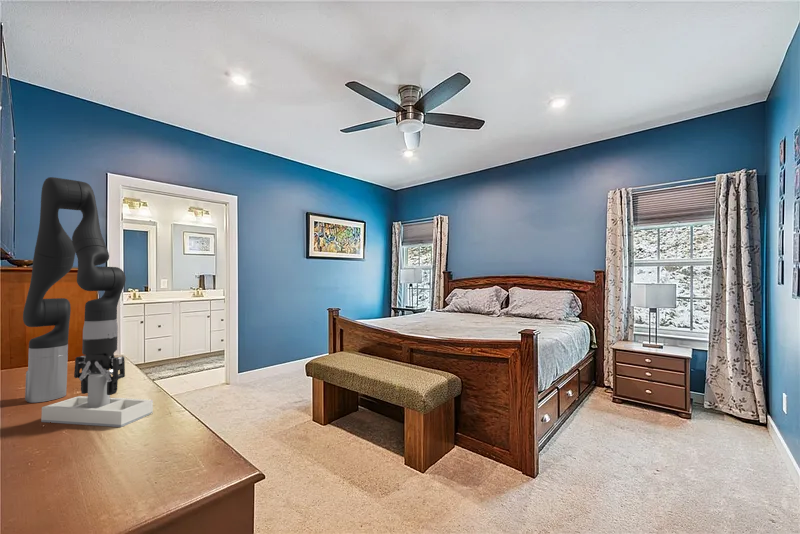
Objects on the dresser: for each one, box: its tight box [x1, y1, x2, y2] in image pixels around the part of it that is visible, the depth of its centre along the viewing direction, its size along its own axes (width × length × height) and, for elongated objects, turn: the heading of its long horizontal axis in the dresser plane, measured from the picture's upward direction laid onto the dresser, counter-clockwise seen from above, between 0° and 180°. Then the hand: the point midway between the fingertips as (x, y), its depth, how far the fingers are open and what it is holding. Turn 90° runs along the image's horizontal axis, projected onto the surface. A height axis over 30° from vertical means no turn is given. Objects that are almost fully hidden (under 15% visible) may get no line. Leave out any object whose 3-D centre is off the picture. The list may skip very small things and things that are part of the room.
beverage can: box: [87, 372, 112, 408], centre depth 97 cm, size 5×5×12 cm
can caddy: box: [40, 395, 154, 428], centre depth 97 cm, size 26×9×4 cm, turn 81°
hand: (99, 393), depth 97 cm, fingers open, 8 cm apart
